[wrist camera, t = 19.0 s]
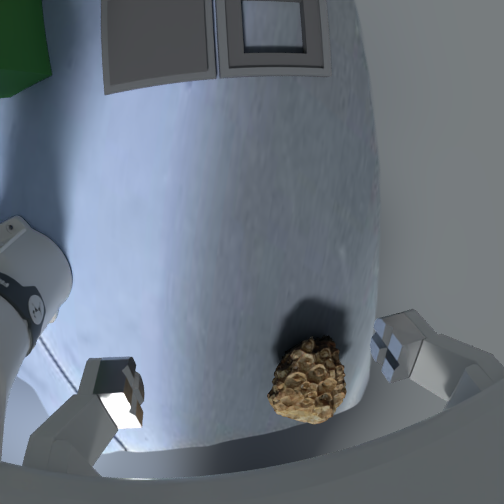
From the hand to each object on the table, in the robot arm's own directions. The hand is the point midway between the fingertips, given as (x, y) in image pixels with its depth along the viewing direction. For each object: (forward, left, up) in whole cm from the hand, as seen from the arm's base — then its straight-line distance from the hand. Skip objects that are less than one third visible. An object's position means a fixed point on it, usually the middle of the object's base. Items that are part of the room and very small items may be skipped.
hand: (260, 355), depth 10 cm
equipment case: (+2, +18, -34) cm, 39 cm away
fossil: (+12, -39, -34) cm, 54 cm away
